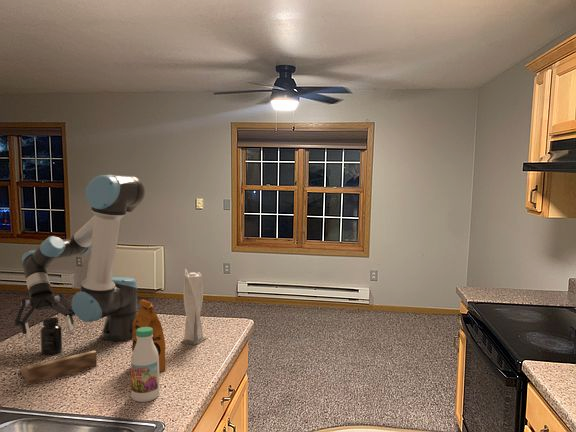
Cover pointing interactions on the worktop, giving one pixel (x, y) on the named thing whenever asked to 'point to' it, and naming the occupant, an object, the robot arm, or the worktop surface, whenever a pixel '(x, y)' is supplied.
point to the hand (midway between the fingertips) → (50, 336)
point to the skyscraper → (193, 308)
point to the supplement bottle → (51, 336)
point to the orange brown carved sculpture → (150, 319)
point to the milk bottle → (144, 367)
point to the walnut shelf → (59, 367)
